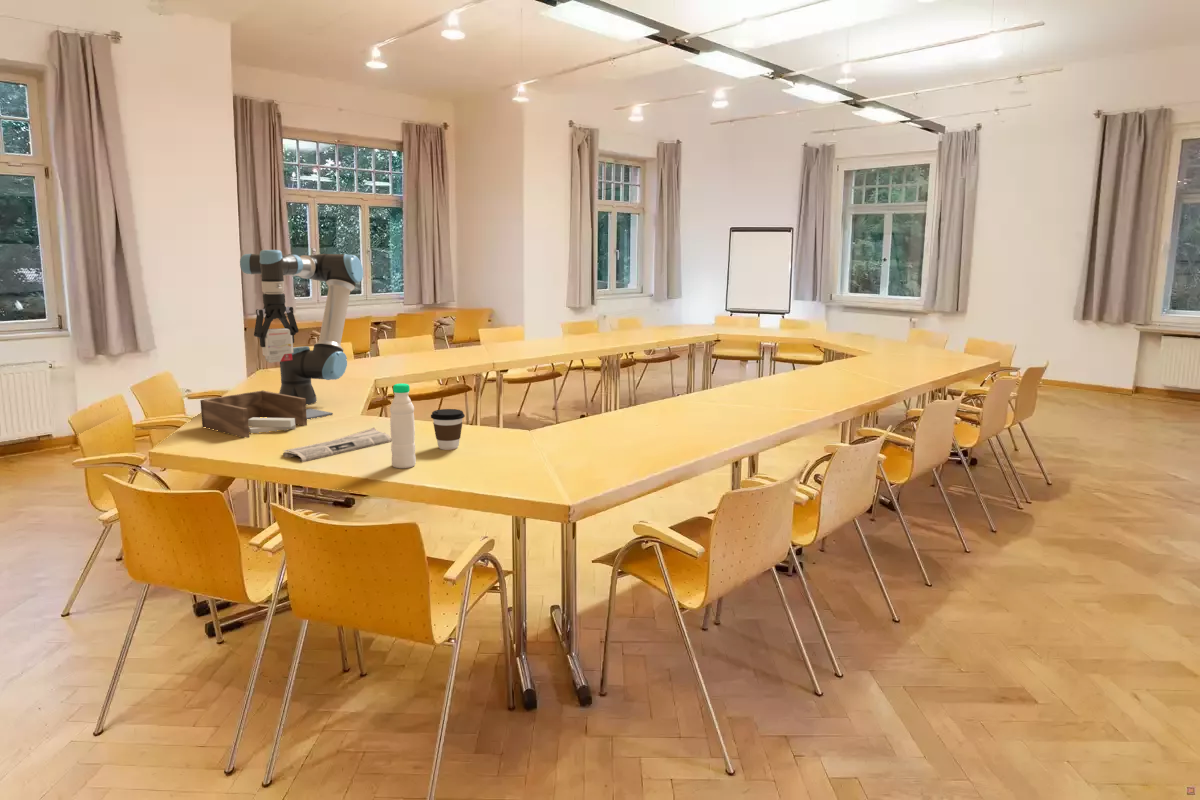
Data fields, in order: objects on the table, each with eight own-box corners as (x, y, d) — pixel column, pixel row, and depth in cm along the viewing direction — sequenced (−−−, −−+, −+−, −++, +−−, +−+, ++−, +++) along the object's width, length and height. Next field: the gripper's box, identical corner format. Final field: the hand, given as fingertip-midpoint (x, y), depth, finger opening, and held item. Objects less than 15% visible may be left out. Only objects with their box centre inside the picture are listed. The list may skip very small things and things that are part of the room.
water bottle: (393, 462, 243) (391, 382, 238) (417, 462, 243) (415, 382, 238) (389, 469, 236) (386, 386, 231) (414, 468, 236) (411, 386, 232)
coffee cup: (436, 453, 255) (435, 416, 252) (427, 445, 264) (426, 410, 262) (469, 449, 260) (469, 413, 257) (459, 442, 269) (458, 407, 267)
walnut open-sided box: (264, 416, 304) (262, 390, 302) (307, 425, 290) (305, 398, 288) (202, 427, 284) (200, 400, 282) (245, 438, 270) (242, 409, 268)
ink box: (288, 358, 298) (286, 327, 296) (293, 360, 294) (290, 329, 292) (264, 361, 293) (262, 329, 291) (268, 363, 289) (266, 330, 287)
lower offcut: (292, 428, 287) (292, 422, 287) (295, 430, 284) (295, 424, 284) (248, 433, 279) (248, 426, 278) (250, 435, 276) (250, 429, 275)
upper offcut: (295, 424, 283) (294, 418, 283) (290, 427, 279) (290, 420, 279) (253, 423, 283) (252, 417, 283) (248, 426, 279) (247, 419, 279)
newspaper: (302, 464, 241) (301, 452, 241) (279, 457, 249) (278, 446, 248) (394, 442, 269) (394, 432, 269) (371, 436, 277) (371, 426, 276)
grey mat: (309, 410, 316) (309, 408, 316) (332, 414, 308) (332, 412, 308) (281, 415, 305) (280, 413, 305) (303, 420, 297) (303, 418, 297)
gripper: (251, 295, 277) (256, 358, 282) (306, 291, 295) (310, 351, 300) (239, 294, 282) (244, 356, 286) (294, 290, 299) (298, 349, 304)
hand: (278, 354), depth 293 cm, fingers closed on ink box, 9 cm apart
